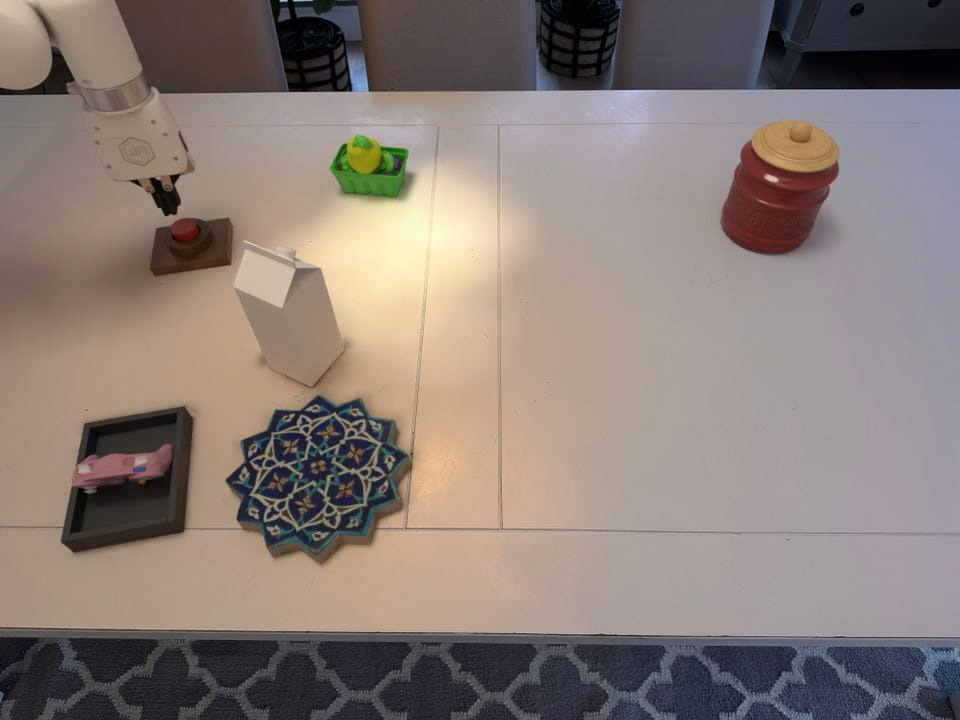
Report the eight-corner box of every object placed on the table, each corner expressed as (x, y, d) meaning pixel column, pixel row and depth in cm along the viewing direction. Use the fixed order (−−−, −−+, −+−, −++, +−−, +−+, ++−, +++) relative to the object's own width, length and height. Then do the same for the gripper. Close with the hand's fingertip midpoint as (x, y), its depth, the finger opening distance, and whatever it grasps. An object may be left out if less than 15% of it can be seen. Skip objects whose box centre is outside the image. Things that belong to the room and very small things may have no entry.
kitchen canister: (703, 210, 105) (734, 106, 91) (776, 192, 107) (816, 88, 93) (748, 265, 97) (790, 160, 83) (826, 244, 99) (879, 139, 85)
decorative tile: (264, 400, 84) (258, 389, 82) (421, 411, 82) (419, 400, 81) (208, 553, 72) (200, 544, 70) (391, 570, 70) (388, 561, 68)
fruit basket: (413, 174, 112) (405, 112, 103) (400, 208, 107) (391, 146, 98) (347, 168, 114) (334, 107, 105) (331, 201, 108) (316, 140, 99)
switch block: (154, 276, 98) (144, 258, 96) (160, 236, 104) (151, 218, 101) (230, 264, 100) (223, 247, 97) (232, 225, 105) (225, 207, 102)
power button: (173, 244, 98) (169, 235, 97) (175, 228, 100) (171, 219, 99) (199, 241, 98) (194, 231, 97) (200, 225, 101) (196, 216, 99)
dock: (73, 552, 72) (60, 542, 70) (95, 435, 82) (84, 422, 79) (183, 531, 73) (174, 520, 71) (193, 418, 83) (184, 405, 81)
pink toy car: (94, 496, 77) (59, 495, 70) (92, 456, 78) (58, 452, 71) (182, 482, 78) (156, 481, 71) (179, 443, 79) (154, 438, 72)
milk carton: (312, 388, 85) (272, 282, 70) (268, 367, 87) (220, 260, 72) (345, 350, 89) (314, 241, 74) (303, 331, 91) (264, 221, 76)
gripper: (44, 111, 78) (113, 234, 92) (177, 97, 80) (224, 219, 94) (56, 79, 83) (120, 200, 97) (182, 65, 84) (226, 186, 99)
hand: (171, 209), depth 95 cm, fingers closed
